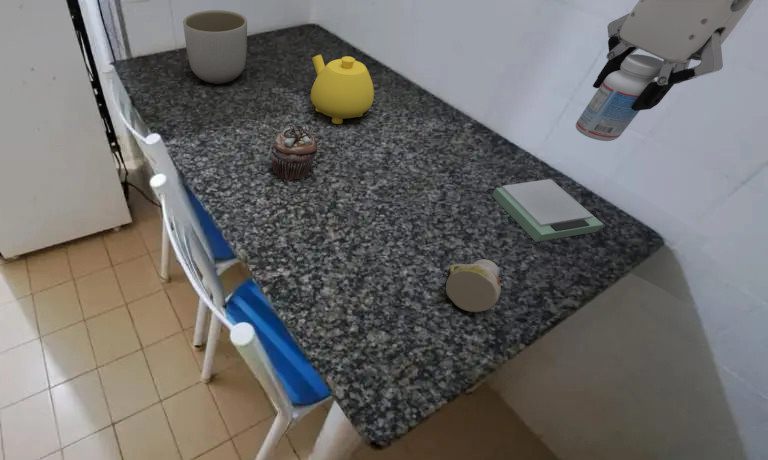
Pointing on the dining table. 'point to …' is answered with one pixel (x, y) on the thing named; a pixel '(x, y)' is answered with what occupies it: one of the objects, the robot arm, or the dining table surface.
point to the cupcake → (293, 152)
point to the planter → (216, 44)
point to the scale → (545, 210)
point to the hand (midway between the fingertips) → (621, 96)
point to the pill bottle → (618, 98)
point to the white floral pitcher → (474, 285)
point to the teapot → (341, 88)
